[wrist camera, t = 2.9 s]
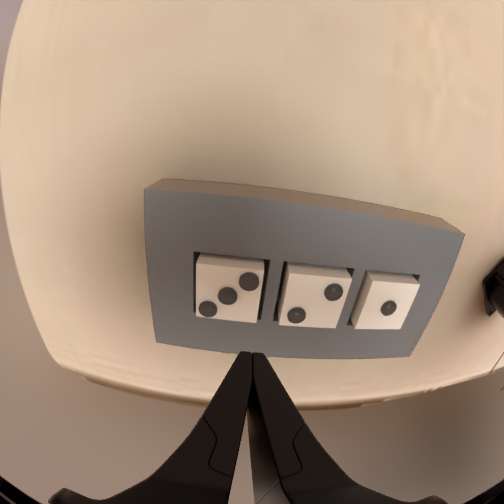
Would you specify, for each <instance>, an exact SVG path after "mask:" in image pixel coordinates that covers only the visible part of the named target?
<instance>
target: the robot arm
mask: <svg viewBox="0 0 504 504" xmlns="http://www.w3.org/2000/svg"><path fill="white" fill-rule="evenodd" d="M483 288H484V296H485V304H486V314H487V315H488V316H491V315H492V314H493V313H494V312H495V311H496V310H497V311H498V312H499V314H500V315H501V316H502V317H503V318H504V261H503V262H502V263H501V264H500V265H499V266H498V267H497V268H496V269H495V270H494V271H493V272H492V273H491V274H490V275H489V276H488V277H486V278H485V280H484V281H483ZM246 412H247V420H248V434H249V445H250V458H251V469H252V480H253V491H254V501H255V504H448V503H447V502H446V501H445V500H443V499H441V498H440V497H438V496H436V495H432V496H429V497H426V498H424V499H422V500H419V501H416V502H404V501H400V500H397V499H394V498H391V497H388V496H386V495H383V494H381V493H378V492H376V491H373V490H371V489H368V488H366V487H364V486H362V485H360V484H358V483H356V482H355V481H353V480H352V479H351V478H350V477H349V476H348V475H347V474H346V473H345V472H344V471H343V470H342V469H341V468H340V467H339V465H338V464H337V463H336V462H335V461H334V460H333V459H332V458H331V456H330V455H329V454H328V453H327V452H326V451H325V449H324V448H323V447H322V446H321V444H320V443H319V442H318V441H317V439H316V438H315V437H314V435H313V433H312V432H311V430H310V429H309V427H308V426H307V424H306V423H305V421H304V419H303V418H302V416H301V414H300V413H299V411H298V410H297V408H296V406H295V405H294V403H293V401H292V400H291V398H290V397H289V395H288V393H287V392H286V390H285V388H284V387H283V385H282V383H281V382H280V380H279V378H278V376H277V375H276V373H275V371H274V370H273V368H272V366H271V365H270V363H269V361H268V359H267V358H266V356H265V354H264V353H260V352H253V353H251V352H249V351H240V352H239V354H238V356H237V358H236V359H235V361H234V363H233V364H232V366H231V368H230V370H229V371H228V373H227V375H226V376H225V378H224V380H223V381H222V383H221V385H220V386H219V388H218V390H217V391H216V393H215V395H214V396H213V398H212V400H211V401H210V403H209V404H208V406H207V408H206V409H205V411H204V413H203V415H202V417H200V419H199V420H198V422H197V424H196V425H195V427H194V428H193V429H192V431H191V433H190V434H189V435H188V436H187V438H186V439H185V440H184V441H183V443H182V444H181V445H180V446H179V447H178V448H177V449H176V450H175V452H174V453H173V454H172V455H171V456H170V457H169V458H168V459H167V460H166V461H165V462H164V463H163V464H162V466H160V467H159V468H158V469H157V470H156V471H155V472H154V473H153V474H152V475H151V476H149V477H148V478H147V479H145V480H143V481H141V482H139V483H138V484H136V485H134V486H132V487H131V488H128V489H126V490H124V491H122V492H120V493H118V494H116V495H114V496H112V497H110V498H107V499H103V500H95V499H91V498H88V497H85V496H83V495H81V494H78V493H76V492H74V491H72V490H69V489H66V488H62V489H61V490H59V491H58V492H57V493H55V494H54V495H53V496H51V498H50V499H49V500H48V503H50V504H228V500H229V495H230V490H231V485H232V480H233V476H234V471H235V466H236V461H237V457H238V451H239V447H240V441H241V437H242V432H243V427H244V422H245V416H246ZM0 504H42V503H40V502H39V501H37V500H35V499H33V498H32V497H31V496H29V495H27V494H26V493H24V492H23V491H21V490H20V489H19V488H17V487H15V486H14V485H13V484H11V483H10V482H8V481H7V480H6V479H4V478H3V477H2V476H0ZM463 504H504V479H502V480H501V481H500V482H498V483H497V484H495V485H494V486H492V487H490V488H489V489H487V490H486V491H484V492H482V493H481V494H479V495H477V496H475V497H474V498H472V499H470V500H468V501H466V502H464V503H463Z"/></svg>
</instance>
